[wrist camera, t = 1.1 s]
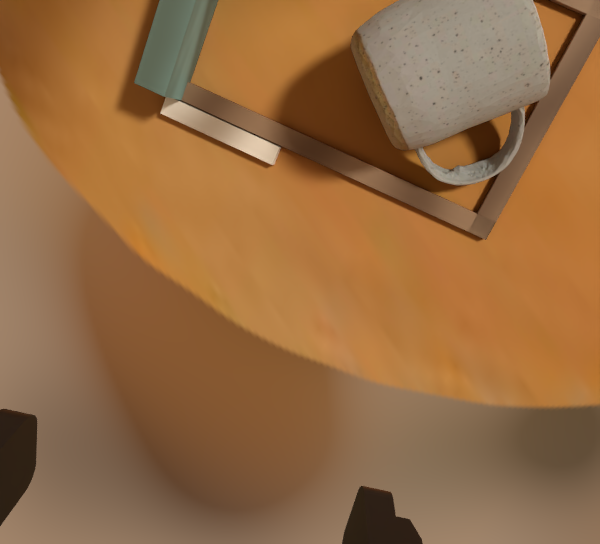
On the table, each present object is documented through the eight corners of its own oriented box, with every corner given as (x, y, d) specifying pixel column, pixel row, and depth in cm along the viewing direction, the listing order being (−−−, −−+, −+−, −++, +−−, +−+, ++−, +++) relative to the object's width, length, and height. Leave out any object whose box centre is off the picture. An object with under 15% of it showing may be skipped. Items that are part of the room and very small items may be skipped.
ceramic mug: (347, 45, 31) (334, 18, 23) (480, -30, 29) (512, -86, 21) (418, 205, 32) (428, 227, 25) (549, 146, 30) (601, 150, 23)
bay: (631, -24, 28) (659, -43, 25) (474, 257, 32) (482, 268, 30) (244, -187, 29) (228, -224, 26) (149, 107, 34) (127, 104, 31)
